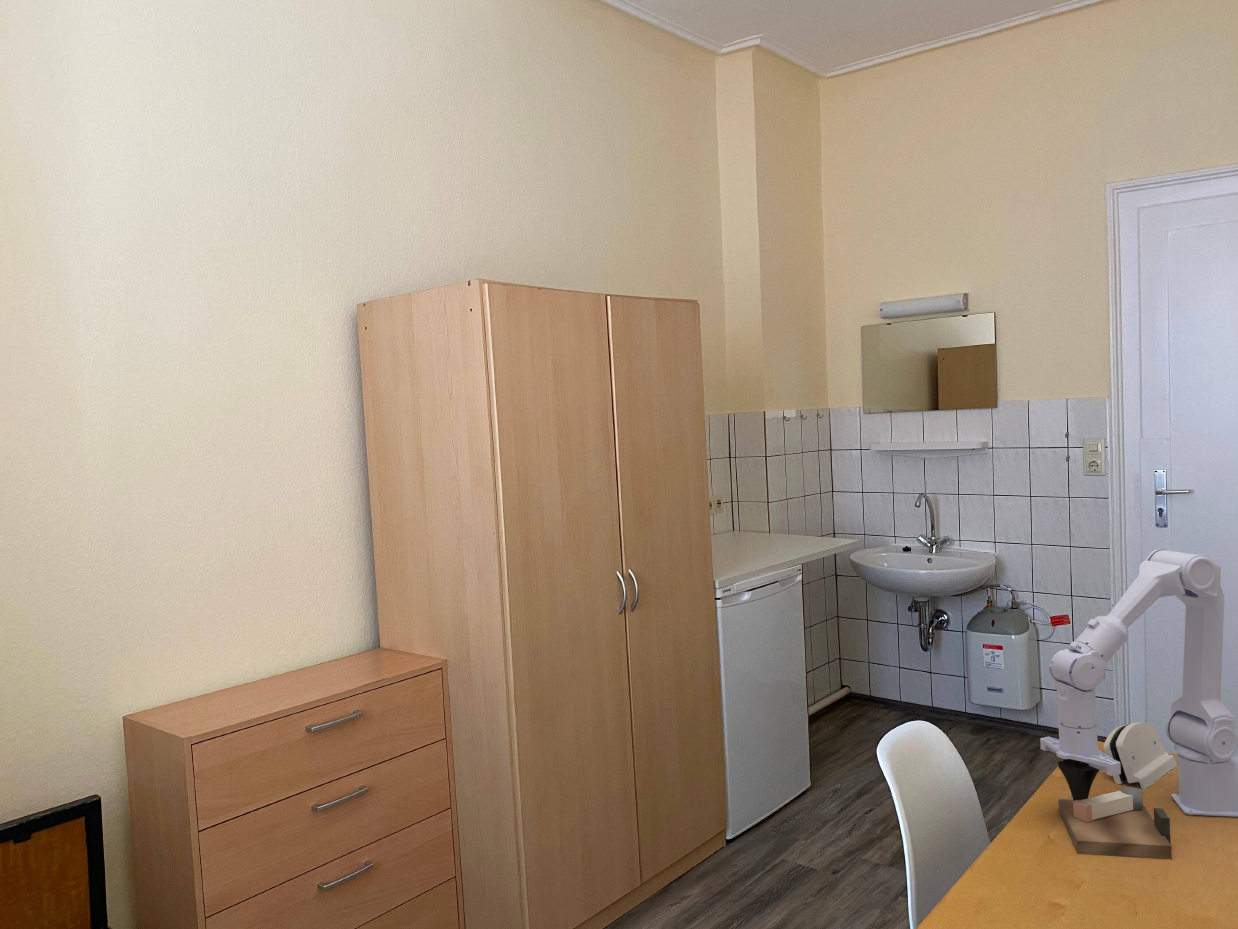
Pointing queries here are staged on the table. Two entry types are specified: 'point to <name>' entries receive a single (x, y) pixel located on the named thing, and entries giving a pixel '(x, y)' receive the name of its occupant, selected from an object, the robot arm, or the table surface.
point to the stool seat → (1120, 833)
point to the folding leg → (1108, 804)
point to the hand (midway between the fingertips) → (1080, 804)
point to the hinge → (1138, 754)
